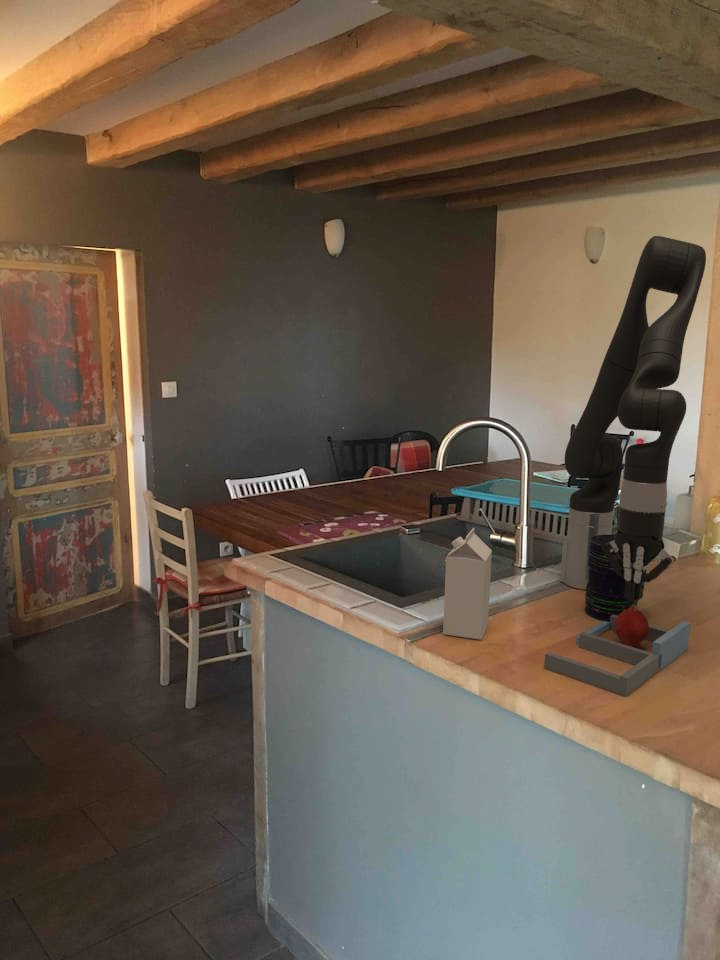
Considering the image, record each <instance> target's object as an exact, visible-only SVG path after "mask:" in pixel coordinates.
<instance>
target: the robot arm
mask: <svg viewBox="0 0 720 960" xmlns="http://www.w3.org/2000/svg"><path fill="white" fill-rule="evenodd" d="M706 263H707V252H706V250H705V248H704V247H702V246H701V245H699V244H697V243H696V244H695V243H692V242H688V241H684V240H679V239H675V238H671V237H667V236H660V235H653V236H652V237H651V238H650V239H648V241H647V242H646V244H645V246H644V248H643V250H642V251H641V254H640V257H639V260H638V264H637V265H636V269H635V273H634V276H633V279H632V282H631V285H630V288H629V291H628V295H627V299H626V302H625V304H624V308H623V311H622V314H621V315H620V319H619V322H618V324H617V326H616V329H615V331H614V334H613V336H612V338H611V340H610V344H609V346H608V349H607V351H606V353H605V354H604V358H603V360H602V362H601V366H600V369H599V372H598V374H597V375H598V376H597V378H596V380H595V383H594V386H593V388H592V392H591V394H590V395H589V398H588V401H587V403H586V406H585V407H584V410H583V411H582V415H581V416H580V417H579V420H578V422H577V424H576V426H575V428H574V430H573V432H572V434H571V436H570V438H569V440H568V441H567V442H568V443H567V445H566V447H565V452H564V467H565V471H566V472H567V473H568V475H570V477H573V478H574V479H581V480H583V479H588V480H587V482H586V483H585V484H584V485H583V486H582V487H581V488H579V489H576V490H575V491H574V492H572V493H571V495H570V497H569V505H568V506H569V507H568V509H569V510H568V519H567V520H568V522H567V534H566V539H563V540H562V541H563V542H562V553H561V563H560V564H561V565H560V578H559V579H560V580H559V582H560V581H561V583H564V584H565V585H567V586H568V587H571V588H575V589H578V590H585V591H586V586H587V584H588V580H589V568H590V567H589V566H588V561H589V550H590V545H591V543H590V540H591V537H593V536H596V535H612V532H613V529H612V528H613V518H614V510H615V509H614V507H615V503H616V501H617V499H618V496H619V505H618V515H617V524H616V525H617V526H616V527H617V529H616V530H617V531H616V533H615V534H614V535H615V536H614V540H613V541H611V542H608V543H606V544H603V545H602V546H601V548H602V550H603V552H604V554H605V556H606V557H607V559H608V561H609V563H610V564H611V566H612V568H613V569H614V571H615V573H616V574H617V575H621V576H622V577H624V579H625V589H624V596H625V597H627V599H626V600H627V601H629V602H633V603H636V602H637V603H638V602H640V600H642V599H643V597H644V589H645V583H650V582H651V581H654V580H656V579H657V578H658V577H660V575H661V574H663V573H664V572H665V571H666V570H667V569H668V568H669V567H670V566H672V565H673V564H674V563H675V562H676V561H677V559H676V557H675V556H674V555H670V554H669V553H668V552H667V550H665V543H664V540H663V535H664V529H665V518H666V510H667V509H666V508H667V506H668V502H667V498H668V489H667V486H668V475H669V473H668V472H669V465H670V464H669V463H670V457H671V452H672V449H673V445H674V444H675V443H674V442H675V440H676V437H677V436H678V433H679V430H680V428H681V426H682V424H683V421H684V419H685V417H686V414H687V401H686V399H685V397H684V395H683V393H681V392H680V391H679V390H675V389H665V388H668V387H670V386H673V384H675V383H676V382H677V380H678V379H679V375H680V370H681V363H682V359H683V358H682V356H683V350H684V344H685V339H686V333H687V330H688V326H689V324H690V321H691V318H692V315H693V312H694V309H695V304H696V302H697V298H698V295H699V291H700V287H701V285H702V280H703V277H704V273H705V270H706ZM651 289H652V290H655V291H660V292H664V293H668V294H669V293H670V294H673V295H677V296H676V300H675V301H674V302H673V304H672V306H670V307H669V309H667V310H666V311H665V312H664V313H663V314H662V315H661V316H659V317H658V318H657V319H655V321H654V322H652V323H651V325H649V321H648V320H649V319H648V314H647V298H648V293H649V291H650V290H651ZM663 388H664V389H663ZM617 418H618V420H619V423H620V425H622V426H623V427H624V428H625V429H628V430H634V431H635V430H636V431H647V432H660V434H659V436H658V437H657V438H656V439H654V440H653V441H650V442H642V443H635V444H631V445H629V446H628V447H627V448H626V451H625V455H624V453H623V452H624V451H623V448H622V444H621V442H620V441H619V439H618V438H617V437H616V436H614V435H611V434H606V433H607V430H608V429H609V428H610V426H611V425H612V423H613V422H614V421H615V420H616V419H617ZM624 456H625V457H624ZM623 460H624V468H623ZM622 470H623V471H622ZM622 472H623V479H622V484H621V478H622ZM620 484H621V485H620ZM620 486H621V488H620ZM619 492H620V495H619ZM618 549H619V551H620V553H621V555H622V557H623V558H624V559H622V558H621V556H620V554H619V553H618ZM657 556H658V558H657ZM656 558H657V563H658V564H657V565H656V566H655V567H654V568H652V569H651V570H650V571H649V568H650V566H651V562H652V561H654V560H655V559H656ZM648 571H649V572H648Z"/></svg>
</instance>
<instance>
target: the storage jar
mask: <svg viewBox="0 0 720 960" xmlns="http://www.w3.org/2000/svg"><path fill="white" fill-rule="evenodd" d="M615 535H616V534H611V535H596V536H593V537H591V540H590V543H591V545H590V550H589V561H588V566H589V567H590V568H589V580H588V584H587V586H586V590H585V595H584V596H585V597H584V599H585V601H584V602H585V606H584V612H585V614H586V615H587V616H588V617H590V618H592V619H595V620H596V621H597V620H598V621H601V622H603V621H606V622H609V623H610V616H612V615H617V616H618V615H619V614H620V613H622V612H623V611H624V610H626V609H629V608H630V607H631V606H632V605H636V606H638V602H636V603H633V602H629V601H627V600H626V599H627V597H625V596H624V589H625V579H624V577H622V576H621V575H617V574H616V573H615V571H614V569H613V568H612V566H611V564H610V563H609V561H608V559H607V557H606V556H605V554H604V552H603V550H602V548H601V546H602V545H603V544H606V543H608V542H611V541H613V540H614V536H615ZM618 553H619V554H620V556H621V558H622V559H624V558H623V557H622V555H621V553H620V551H619V549H618Z"/></svg>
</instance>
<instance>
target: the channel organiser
mask: <svg viewBox="0 0 720 960" xmlns="http://www.w3.org/2000/svg"><path fill="white" fill-rule="evenodd" d="M617 617H618V616H617V615H612V616H610V622H606V621H601V622H599V623H598V624H596V625H595V626H593V627H591V628H589V629H587V630H585V631H582V632H580V633H579V635H578V636H576V637H575V644H578V648H581V649H583V650H587V651H590V652H592V653H596V654H600V655H603V656H605V657H609V658H612V659H615V660H619V661H622V662H625V663H627V664H630V665H633V666H632V667H631V668H629V669H628V670H626V671H625V672H624V673H622V674H621V675H619V674H618V673H617V674H616V673H613V672H610V671H608V670H604V669H601V668H599V667H596V666H592V665H590V664H586V663H583V662H580V661H578V660H574V659H572V658H569V657H567V656H563V655H559V654H556V653H554V652H551V651H547V652H546V653H545V654H544V664H543V668H544V669H546V670H549V671H552V672H554V673H558V674H560V675H564V676H566V677H569V678H572V679H574V680H577V681H580V682H583V683H586V684H589V685H591V686H594V687H598V688H601V689H603V690H607V691H609V692H612V693H614V694H617V695H620V696H623V697H628V695H630V694H631V693H632V692H634V691H635V690H637V689H638V688H639V687H640V686H642V685H644V684H645V683H646V682H647V681H648V680H650V679H651V678H653V676H655V675H656V674H657V673H658V672H661V670H662V669H664V668H665V667H666V666H668V665H669V664H670V663H672V662H673V661H674V660H675V659H678V657H680V656H681V655H683V653H685V652H686V651H688V650H689V641H690V640H689V639H690V632H691V622H689V621H686V620H682V621H681V622H680V623H678V624H677V625H675V626H674V627H672V628H671V629H670V630H669V629H666V628H662V627H659V626H656V625H652V624H649V623H648V625H649V633H648V636H647V637H646V639H645V640H646V641H649V642H652V652H650V651H646V650H643V649H640V648H637V647H635V646H634V647H631V646H627V645H625V644H624V643H621V642H617V641H613V640H611V639H607V638H604V637H601V636H599V635H602V634H603V633H604V632H606V631H609V629H610V630H612V631H615V628H614V624H615V620H616V618H617Z"/></svg>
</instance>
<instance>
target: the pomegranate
mask: <svg viewBox="0 0 720 960" xmlns="http://www.w3.org/2000/svg"><path fill="white" fill-rule="evenodd" d="M637 606H638V605H637ZM637 606H636V605H632V606H631V607H630V608H629V609H626V610H624V611H623V612H622V613H620V614H619V615H618V617H617V618H616V620H615V624H614V628H615V630H614V632H615V635H616V637H617V638H618V639H619V640H620V641H621V642H622V644H624V645H627V646H631V647H634V648H635V646H638V645H639V644H640V643H642V642H644V641H645V640H646V637H647V636H648V633H649V625H650V624H649V622H648V618H647V617H646V616H645V615H644V614H643V613H642V612H641V611H640V610H639V609H638V608H637ZM648 624H649V625H648Z"/></svg>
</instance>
